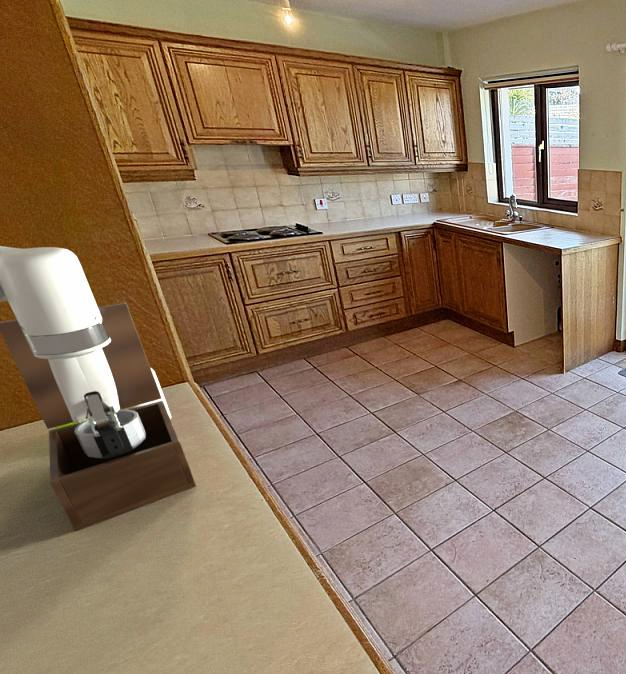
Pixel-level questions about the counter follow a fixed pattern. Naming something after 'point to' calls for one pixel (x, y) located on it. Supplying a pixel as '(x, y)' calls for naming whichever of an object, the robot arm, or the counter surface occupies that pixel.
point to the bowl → (126, 420)
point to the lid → (120, 354)
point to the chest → (118, 471)
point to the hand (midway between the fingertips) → (115, 442)
